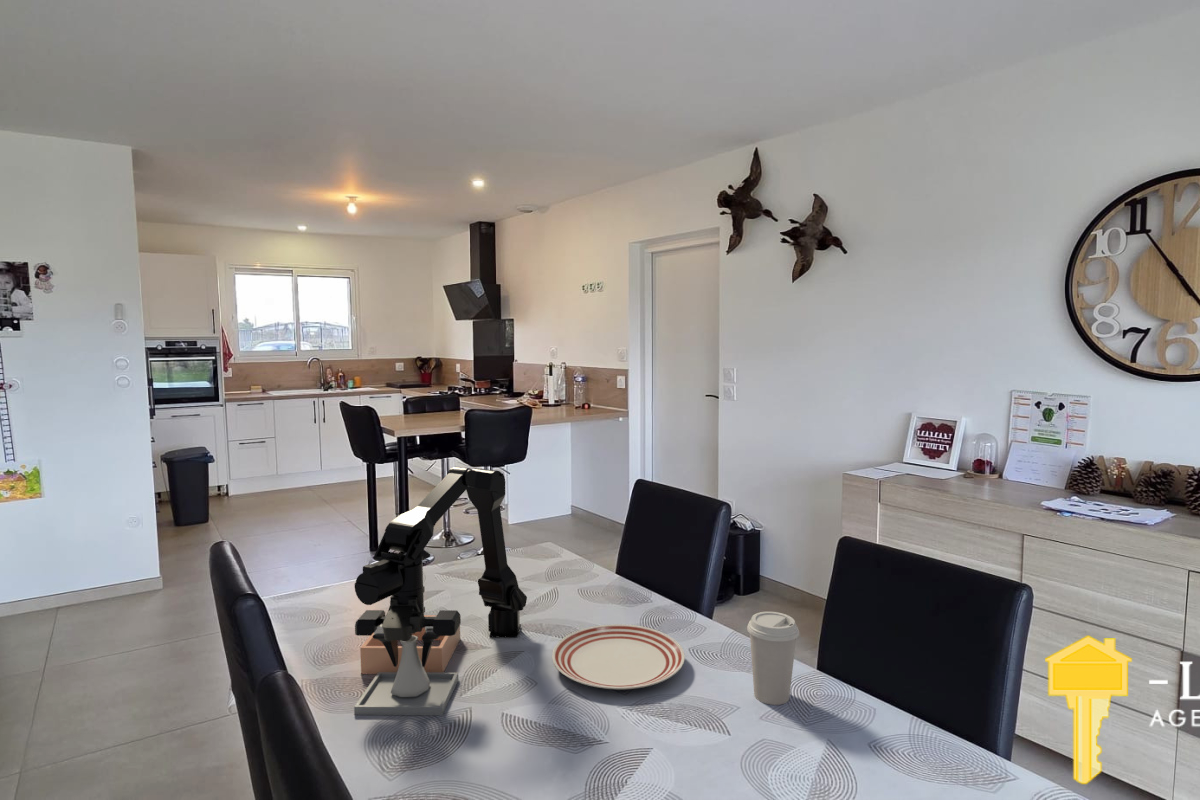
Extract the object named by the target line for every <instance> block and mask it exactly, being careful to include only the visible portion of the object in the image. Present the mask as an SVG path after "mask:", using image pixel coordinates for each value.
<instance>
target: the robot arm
mask: <svg viewBox="0 0 1200 800" xmlns="http://www.w3.org/2000/svg"><path fill="white" fill-rule="evenodd" d="M465 491H466V493H467V496H468V499H469V501H470V502H471V504H472V505H473V507H475V509H476V510H477V515H478V516H477V517H478V525H479V530H480V538H481V544H482V545H481V546H482V554H483V559H484V568H485V569H484V571H483V573H482V574H481V575H482V576H481V577H479V578H478V579H477V584H478V589H479V590H478V595H479V596H481V599H482V602H483V606H484V607H487V608H488V607H489V608H490V610H489V612H488V614H487V615H488V616H487V618H488V619H487V620H488V621H487V622H488V632H490V633H489V638H518V637H519V635H520V631H521V628H522V624H521V622H520V616H521V615H520V611H523V610H524V608H525V607H526V605H527V600H528V597H527V595H526V594H525V593H524V592H523V591H522V590H521V588H520V587H519V583H518V580H517V575H516V574H515V572H514V571H513V570H512V568H511V567H510V566H509V565H508V557H507V551H506V543H505V534H504V527H503V521H502V520H503V519H502V512H501V511H502V510H501V505H502V503H503V500H504V498H505V497H506V477H505V474H504V473H502V471H500V470H494V469H484V468H477V467H476V468H470V467H461V466H454V467H451V468H449V469H448V472H447V474H446V475H445V477H444V478H443V479H442V480H441V481H440V482H438V484H436V486H435V487H434V488H433V489H432V490H431V491H430V492H429V493H428V494H427V495H426V496H425V498H423V500H422V501H421V502H420V503H418V505H416V506H415V507H414V508H413V509H411V510H407V511H405V512H404V513H401V514H399V515H398V516H397V517H395V518H394V519H392V520H391V521H390V522H389V523H388V524H387V526H386V527H385V529H384V533H383V536H382V537H381V540H380V542H379V544H378V547H377V548H376V551H375V553H374V556H373V558H372V559H373V560H374V561H377V562H374V563H369V564H365V565H363V566H362V573H360V574H359V575H358V576H357V578H356V580H355V582H354V592H355V594H356V596H357V598H358V600H359V601H360V602H361V603H362V604H364V605H366V606H371V605H374V604H376V603H378V602H380V601H383V600H385V599H387V598H389V597H390V600H389V606H388V607H389V608H388V610H387V612H386V611H385V610H384V609H380V610H379V609H367V610H365V611H364V612H363V613H362V614H361V615H360V617H358V619H356V621H355V624H354V635H355V636H358V637H359V636H360V637H361V636H362V637H363V636H365V637H366V636H368V637H369V636H371V635H372V634H373V633H374V635H373V636H372V637H373V639H378V640H379V641H381V642H382V643H383V644H384V646H385V648H386V650H387V652H388V654H389V656H390V659H391V661H392V663H393V665H394V667H396V666H397V665H398V646H399V643H398V642H399V641H408V640H409V639H411V637H412V634H415V632H421V631H422V628H423V627H425V630H426V632H425V633H424V635H423V636H422V640H421V641H422V646H423V649H422V667H425V665H426V662H427V659H428V656H429V653H430V650H431V646H433V643H434V641H435V640H434V639H438V638H439V636H452V635H455V633H456V631H457V629H458V628H459V626H460V627H461V622H462V621H461V620H462V619H461V618H462V617H461V614H460V612H459V611H458V610H456V609H455V610H452V609H451V610H441V609H439V611H438V612H437V616H432V617H424V615H425V613H426V606H425V604H424V603H425V602H424V601H425V600H424V593H425V589H426V588H425V586H424V566H423V564H424V563H423V561H424V560H426V559H429V558H430V557H431V553H429V552H428V551H426V550H425V548H426V547H427V545H428V544H429V542H430V541H431V539H432V537H433V536H434V530H435V529H434V528H435V526H436V524H437V523H438V522H439V521H440V519H441V518H442V517H443V516H444V514H446V513H447V512H448V510H449V509H450V508H452V506H453V505H454V504H455V503H456V502H457V500H458V499H459V498H460V497H461V496H462V495H463V494H464V493H465ZM390 550H391V551H392V552H391V551H390ZM393 551H396V552H393ZM397 552H403V553H404V554H403V553H397Z"/></svg>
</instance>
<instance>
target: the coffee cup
mask: <svg viewBox="0 0 1200 800" xmlns="http://www.w3.org/2000/svg"><path fill="white" fill-rule="evenodd" d="M746 629H747V630H746V631H747V632H748V633H749V638H750V639H749V642H750V652H751V655H750V656H751V664H752V665H751V668H752V670H751V671H752V682H753V692H754V693H753V694H754V698H755V699H757V700H758V701H759V702H761V703H763V704H767V705H770V706H772V705H773V706H780V705H784V704H786V703H788V702H789V701H790V697H791V696H790V695H791V694H790V693H791V686H792V678H793V668H794V660H795V652H796V641H797V638H798V637H799V636H800V630H799V627H798V625H797V624H796V621H795V618H793V617H791V616H790V615H789V614H785V613H783V612H778V611H761V612H757V613H755V614H753V615H752V616H751V619H750V620H749V622H748V624H747V627H746Z"/></svg>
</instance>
